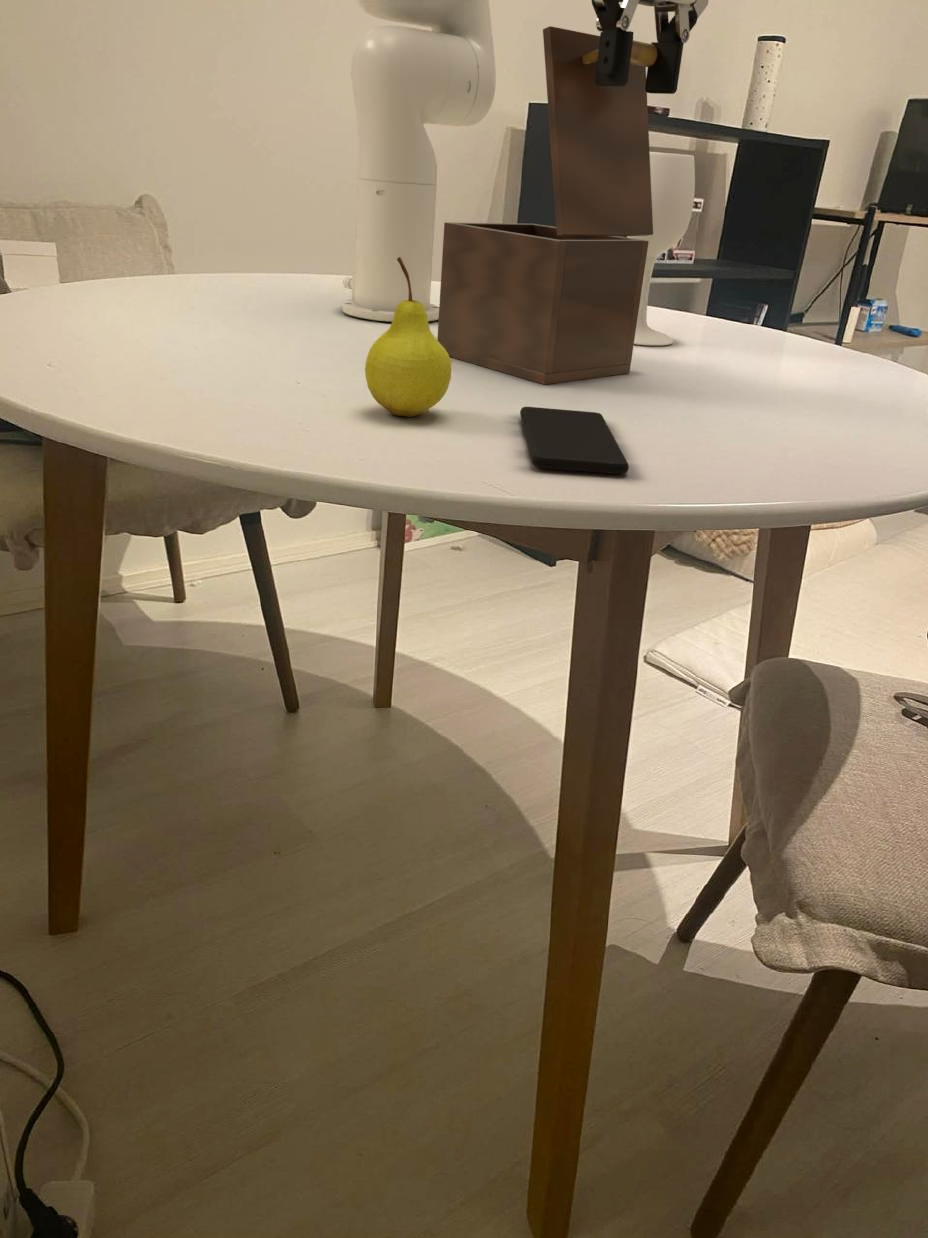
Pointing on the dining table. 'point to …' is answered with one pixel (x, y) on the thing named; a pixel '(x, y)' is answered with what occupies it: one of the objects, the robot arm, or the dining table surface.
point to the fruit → (408, 362)
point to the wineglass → (665, 225)
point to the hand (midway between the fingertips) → (636, 87)
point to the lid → (598, 139)
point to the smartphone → (571, 441)
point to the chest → (540, 300)
